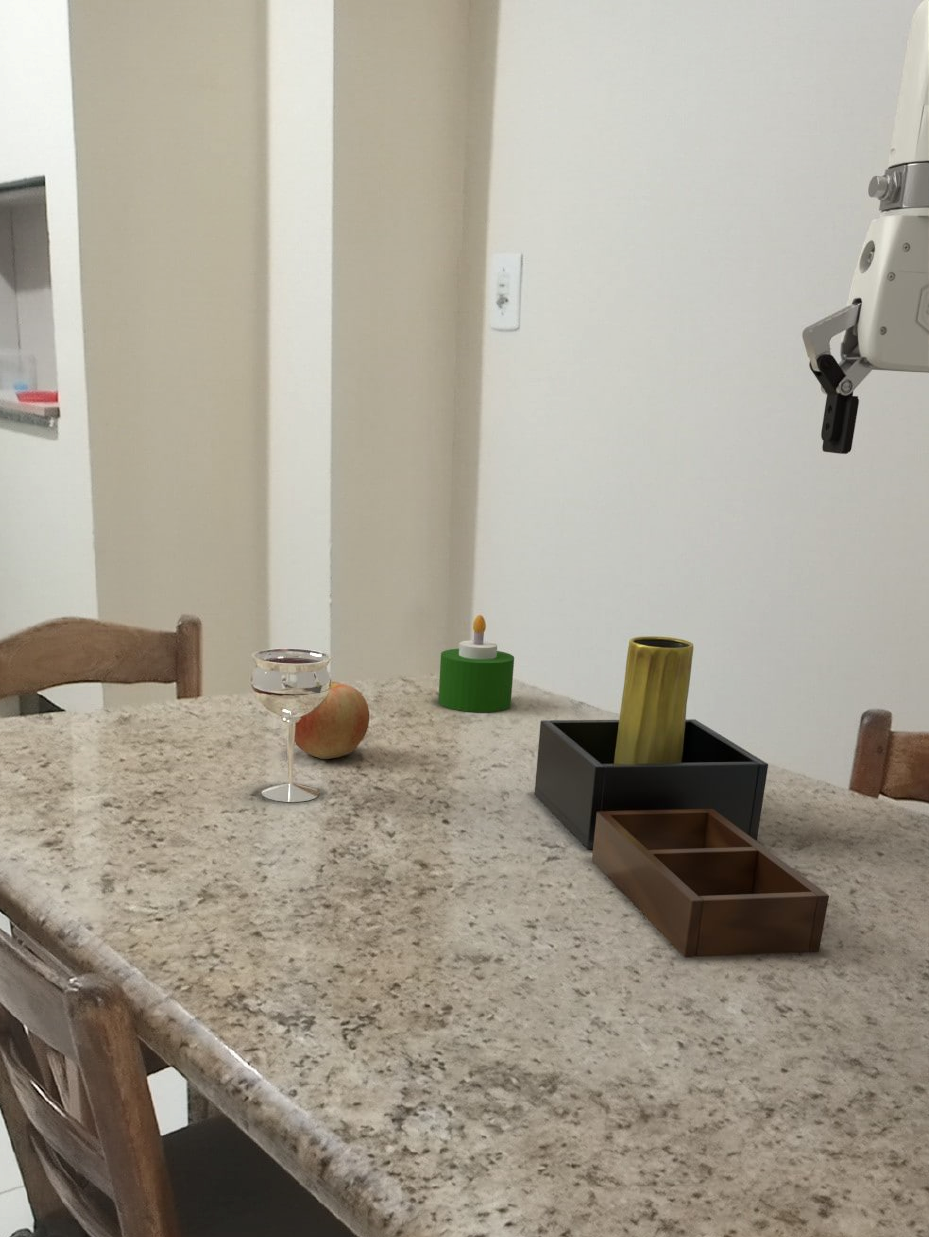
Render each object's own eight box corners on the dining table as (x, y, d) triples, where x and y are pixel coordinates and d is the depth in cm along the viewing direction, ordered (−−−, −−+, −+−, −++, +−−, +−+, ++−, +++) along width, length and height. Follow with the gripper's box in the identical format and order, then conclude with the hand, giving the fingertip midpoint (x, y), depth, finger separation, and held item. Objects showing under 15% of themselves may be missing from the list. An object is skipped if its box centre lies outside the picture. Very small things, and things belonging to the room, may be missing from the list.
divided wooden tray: (706, 856, 103) (713, 808, 101) (819, 951, 86) (829, 895, 85) (591, 860, 101) (596, 811, 99) (684, 958, 84) (692, 900, 83)
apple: (305, 770, 120) (306, 684, 117) (273, 748, 127) (273, 666, 124) (382, 762, 124) (385, 679, 121) (348, 741, 130) (349, 662, 127)
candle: (516, 699, 151) (522, 612, 147) (504, 715, 144) (510, 624, 140) (446, 692, 153) (451, 606, 149) (431, 707, 145) (435, 617, 142)
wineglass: (287, 810, 109) (288, 668, 104) (235, 791, 113) (234, 653, 108) (345, 795, 113) (348, 658, 109) (293, 777, 118) (294, 645, 113)
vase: (680, 803, 113) (700, 639, 108) (676, 824, 107) (698, 652, 102) (610, 795, 114) (627, 632, 109) (602, 815, 109) (620, 645, 103)
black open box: (686, 791, 119) (695, 719, 117) (756, 844, 106) (768, 764, 104) (534, 794, 116) (540, 720, 114) (587, 849, 103) (595, 766, 100)
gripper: (854, 183, 87) (813, 454, 93) (1079, 203, 90) (1025, 462, 97) (801, 197, 94) (766, 448, 100) (1012, 215, 97) (966, 456, 104)
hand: (893, 455), depth 98 cm, fingers open, 9 cm apart
